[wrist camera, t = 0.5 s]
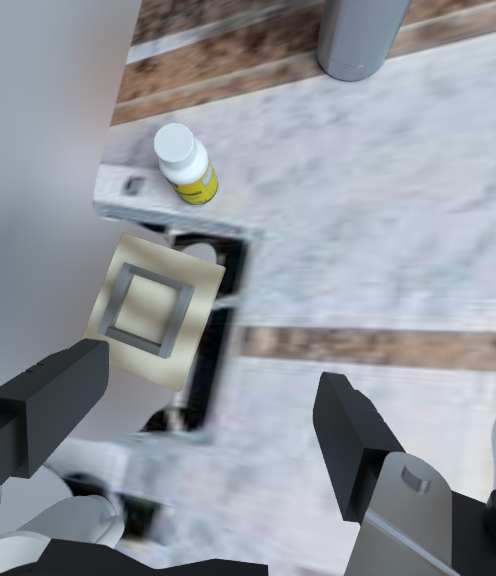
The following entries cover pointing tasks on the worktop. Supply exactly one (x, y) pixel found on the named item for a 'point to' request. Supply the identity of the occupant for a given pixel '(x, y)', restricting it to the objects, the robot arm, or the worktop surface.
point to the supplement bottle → (186, 164)
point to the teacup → (62, 529)
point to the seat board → (154, 310)
